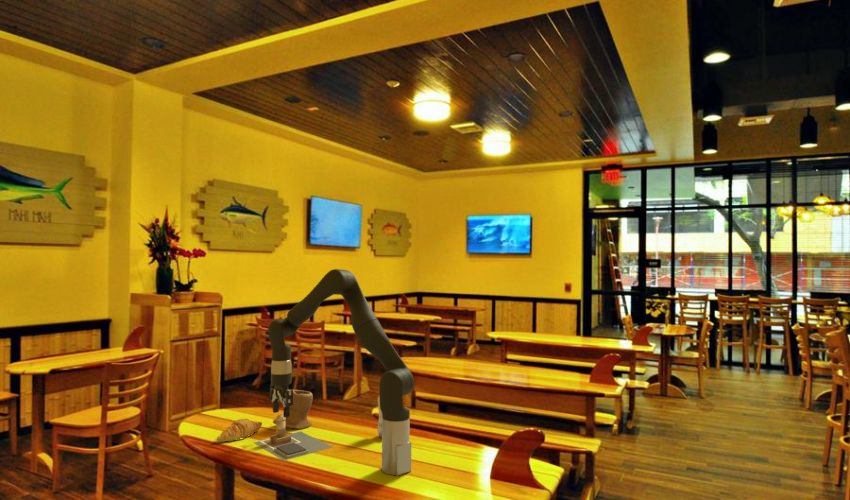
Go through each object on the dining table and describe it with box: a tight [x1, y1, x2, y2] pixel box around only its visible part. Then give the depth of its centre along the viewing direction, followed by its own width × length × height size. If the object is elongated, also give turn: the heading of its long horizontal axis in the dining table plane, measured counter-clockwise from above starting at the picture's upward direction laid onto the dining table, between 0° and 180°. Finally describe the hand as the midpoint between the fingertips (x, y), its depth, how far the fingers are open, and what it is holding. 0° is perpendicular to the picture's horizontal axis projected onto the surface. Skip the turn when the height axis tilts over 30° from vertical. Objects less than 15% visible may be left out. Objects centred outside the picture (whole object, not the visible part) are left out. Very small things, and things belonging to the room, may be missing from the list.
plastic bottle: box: [376, 394, 382, 438], centre depth 205 cm, size 6×7×20 cm
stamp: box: [269, 413, 291, 446], centre depth 196 cm, size 6×6×10 cm
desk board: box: [253, 431, 333, 461], centre depth 193 cm, size 24×20×2 cm
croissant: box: [216, 418, 263, 443], centre depth 205 cm, size 21×10×8 cm, turn 151°
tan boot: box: [272, 389, 314, 430], centre depth 218 cm, size 15×12×15 cm
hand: (281, 414), depth 196 cm, fingers open, 8 cm apart
